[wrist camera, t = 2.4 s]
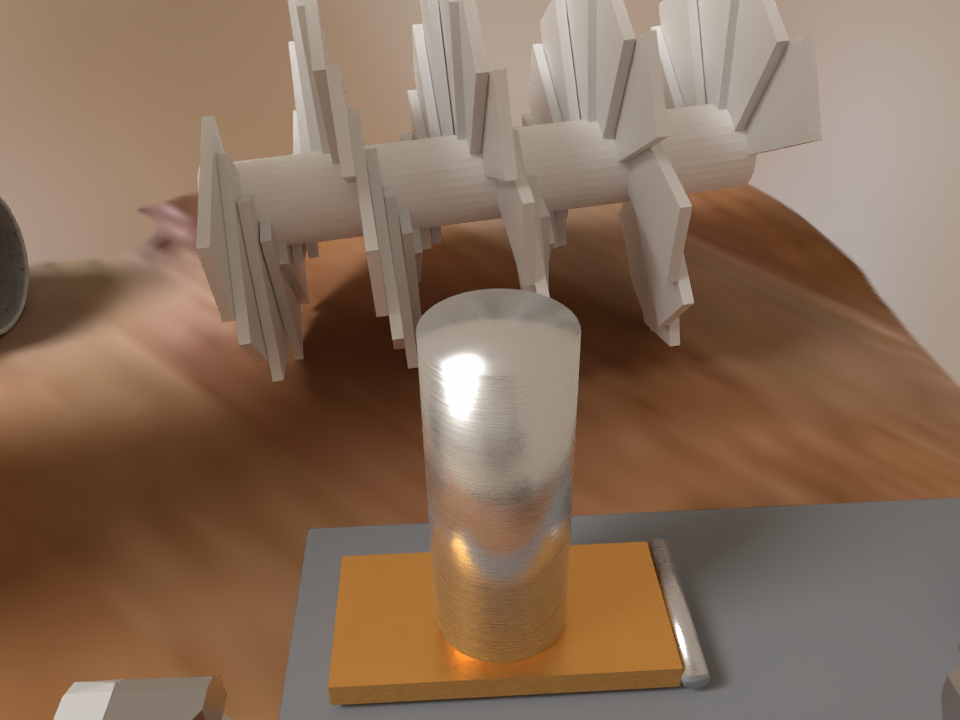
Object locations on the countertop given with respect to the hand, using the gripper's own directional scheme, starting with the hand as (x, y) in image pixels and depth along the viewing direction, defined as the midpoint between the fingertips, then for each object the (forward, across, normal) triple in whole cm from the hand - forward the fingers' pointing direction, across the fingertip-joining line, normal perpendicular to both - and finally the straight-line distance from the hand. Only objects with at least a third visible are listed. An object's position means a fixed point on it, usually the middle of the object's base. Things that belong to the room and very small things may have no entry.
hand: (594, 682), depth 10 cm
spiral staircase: (+34, 0, +16) cm, 37 cm away
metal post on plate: (+12, 0, +14) cm, 19 cm away
